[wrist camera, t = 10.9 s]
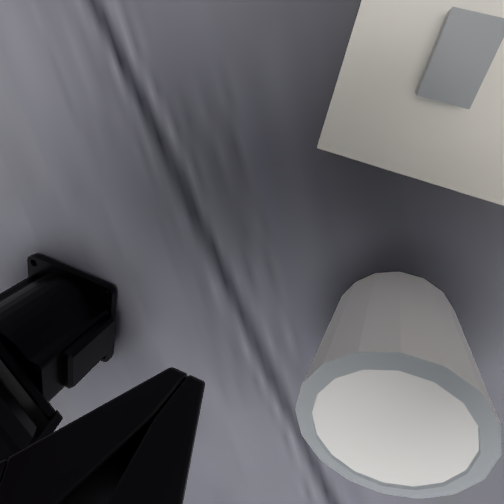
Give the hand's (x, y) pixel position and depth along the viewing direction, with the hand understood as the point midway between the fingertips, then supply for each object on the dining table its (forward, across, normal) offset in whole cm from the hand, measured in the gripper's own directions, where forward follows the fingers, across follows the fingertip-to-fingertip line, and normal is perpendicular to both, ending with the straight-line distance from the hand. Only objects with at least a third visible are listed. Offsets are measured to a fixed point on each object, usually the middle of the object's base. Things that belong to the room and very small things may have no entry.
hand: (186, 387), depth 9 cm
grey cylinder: (+12, -6, +4) cm, 14 cm away
